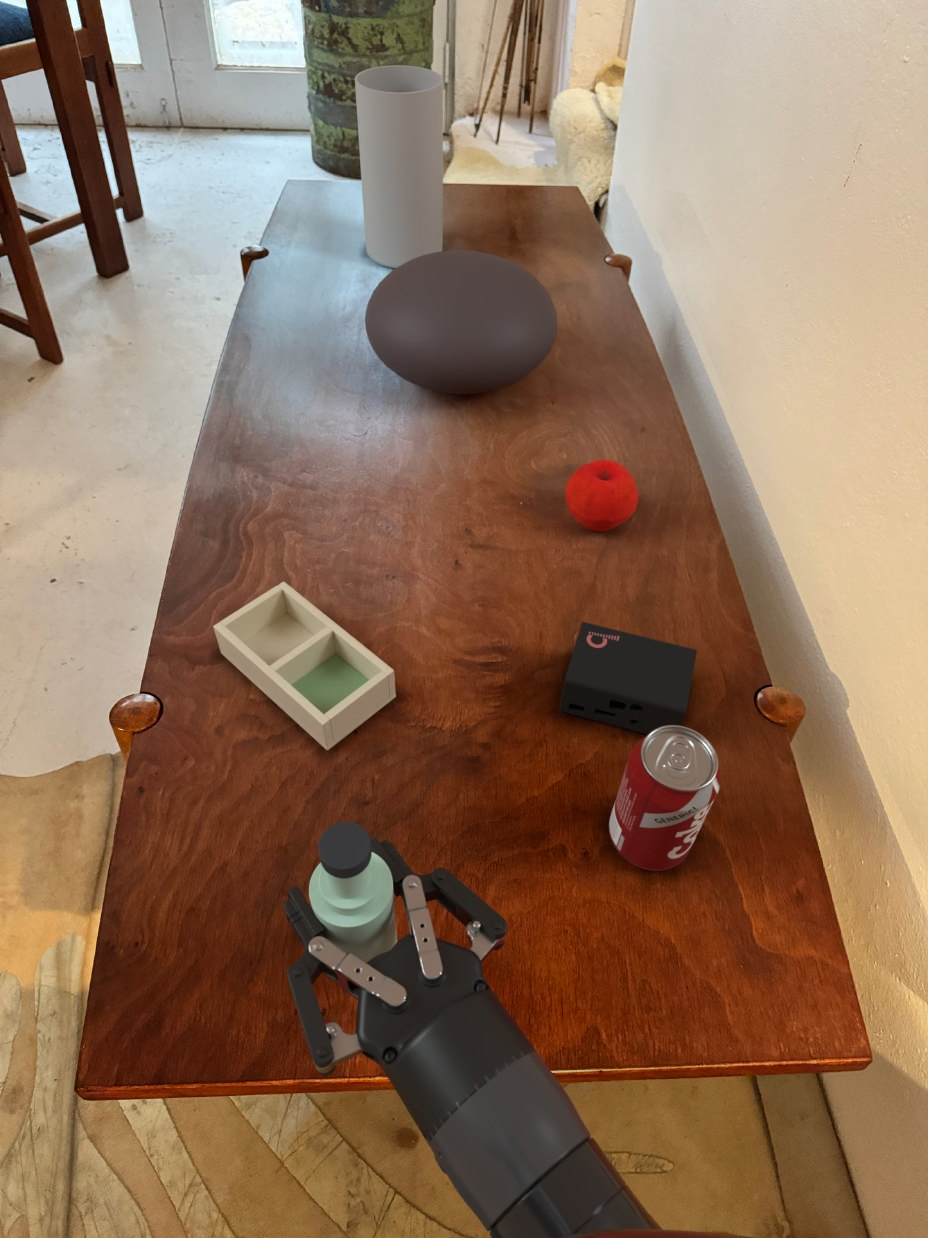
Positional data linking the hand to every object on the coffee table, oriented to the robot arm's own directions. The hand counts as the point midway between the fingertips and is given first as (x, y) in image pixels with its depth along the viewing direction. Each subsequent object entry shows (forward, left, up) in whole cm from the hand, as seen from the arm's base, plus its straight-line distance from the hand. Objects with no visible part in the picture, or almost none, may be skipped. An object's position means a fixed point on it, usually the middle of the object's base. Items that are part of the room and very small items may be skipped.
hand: (332, 869), depth 55 cm
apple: (+51, +15, -11) cm, 54 cm away
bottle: (0, -3, -8) cm, 8 cm away
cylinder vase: (+81, +78, -11) cm, 113 cm away
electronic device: (+33, -2, -11) cm, 35 cm away
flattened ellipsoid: (+62, +47, -11) cm, 79 cm away
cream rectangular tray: (+14, +21, -11) cm, 28 cm away
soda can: (+23, -12, -11) cm, 28 cm away
